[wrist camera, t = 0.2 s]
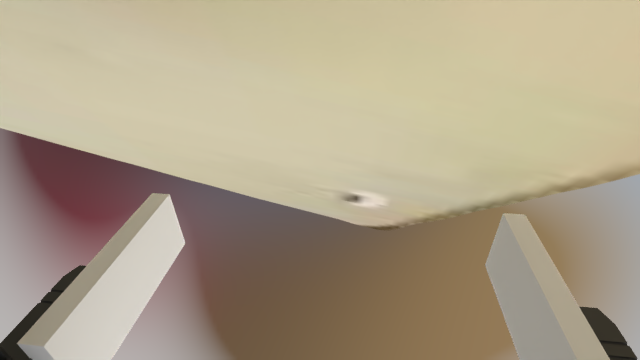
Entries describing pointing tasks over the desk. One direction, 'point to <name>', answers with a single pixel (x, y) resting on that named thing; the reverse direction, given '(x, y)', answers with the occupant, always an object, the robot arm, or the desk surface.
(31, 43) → the desk surface
